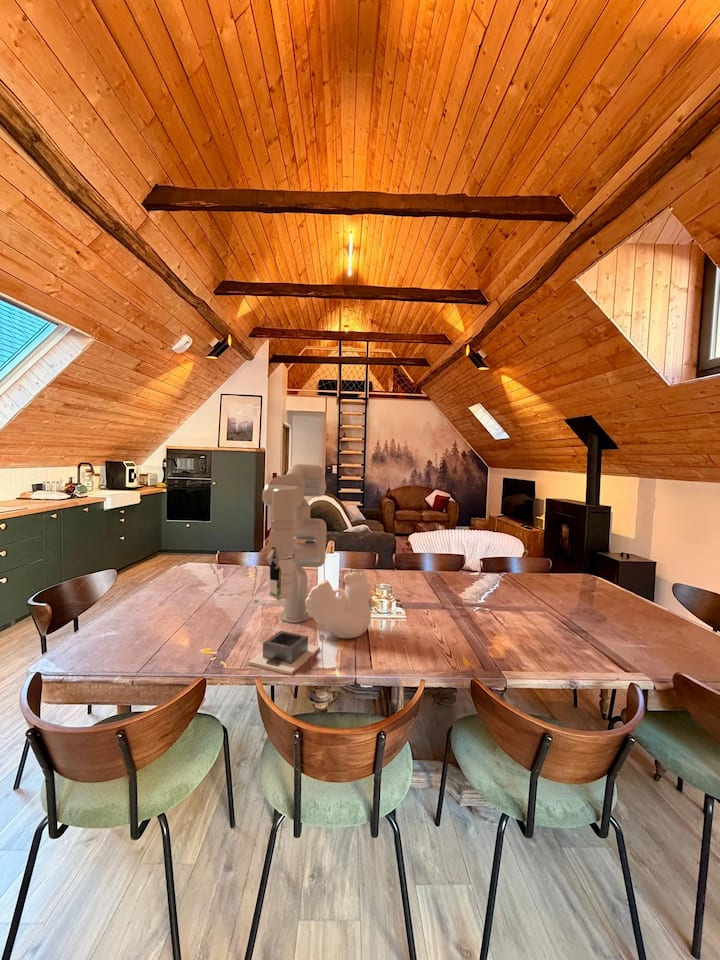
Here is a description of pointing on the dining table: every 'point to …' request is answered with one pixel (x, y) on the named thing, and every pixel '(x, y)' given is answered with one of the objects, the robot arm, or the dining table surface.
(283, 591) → the syrup box
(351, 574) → the decorative rooster
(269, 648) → the pocket stand
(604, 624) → the dining table surface
